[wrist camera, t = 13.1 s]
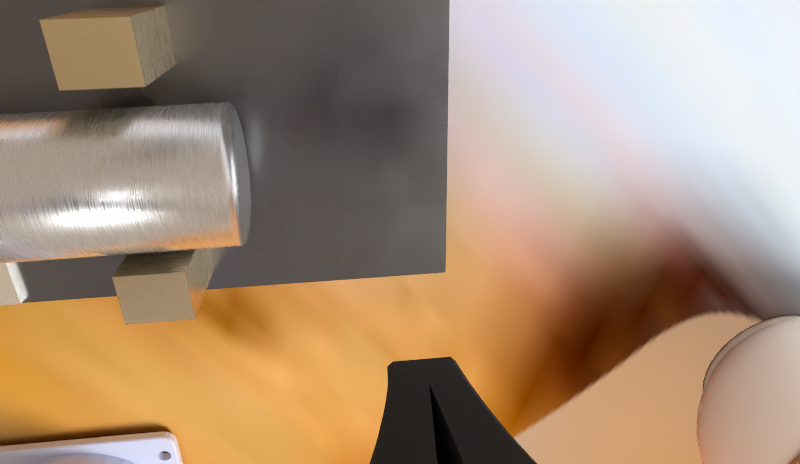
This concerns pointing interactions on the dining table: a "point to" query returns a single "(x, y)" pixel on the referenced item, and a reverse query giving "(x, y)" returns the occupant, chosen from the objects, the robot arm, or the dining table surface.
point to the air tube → (122, 181)
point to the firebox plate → (254, 133)
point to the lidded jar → (753, 397)
